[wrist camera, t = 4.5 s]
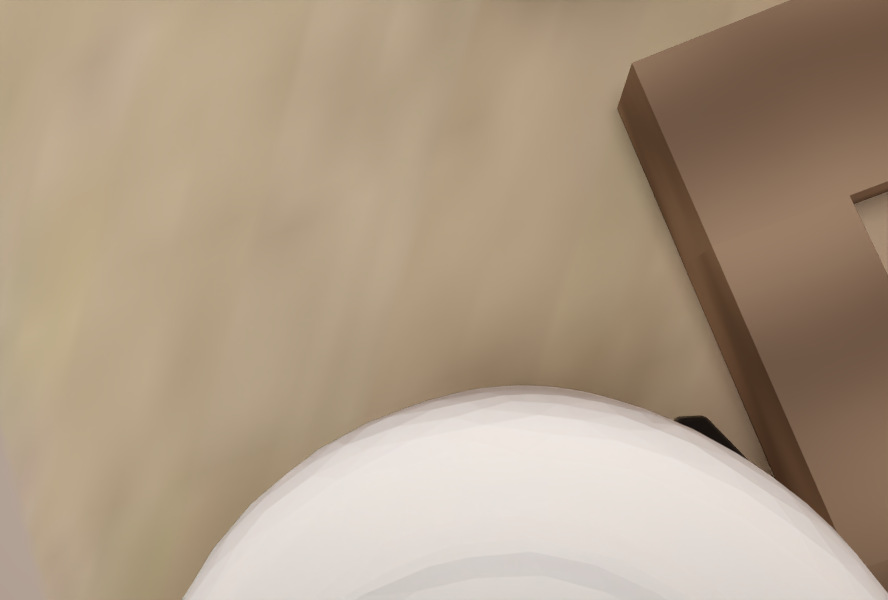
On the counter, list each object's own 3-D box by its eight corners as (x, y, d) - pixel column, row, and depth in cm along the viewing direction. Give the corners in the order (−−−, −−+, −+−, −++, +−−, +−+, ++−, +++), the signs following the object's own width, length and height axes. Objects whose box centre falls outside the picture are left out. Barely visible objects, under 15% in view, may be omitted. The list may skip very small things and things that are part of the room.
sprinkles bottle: (605, 587, 16) (995, 1647, 3) (422, 545, 17) (-9, 1217, 3) (634, 399, 16) (1098, 490, 3) (455, 365, 17) (192, 317, 4)
